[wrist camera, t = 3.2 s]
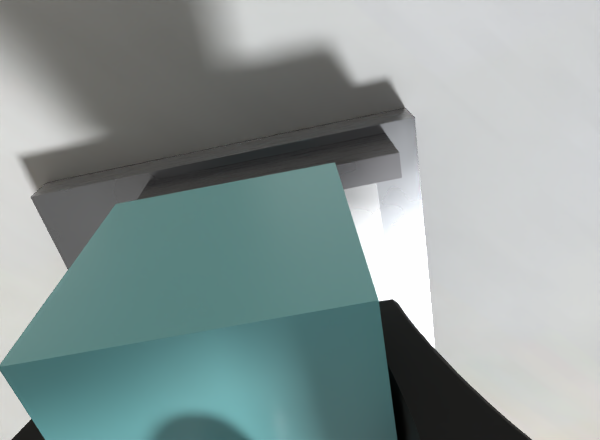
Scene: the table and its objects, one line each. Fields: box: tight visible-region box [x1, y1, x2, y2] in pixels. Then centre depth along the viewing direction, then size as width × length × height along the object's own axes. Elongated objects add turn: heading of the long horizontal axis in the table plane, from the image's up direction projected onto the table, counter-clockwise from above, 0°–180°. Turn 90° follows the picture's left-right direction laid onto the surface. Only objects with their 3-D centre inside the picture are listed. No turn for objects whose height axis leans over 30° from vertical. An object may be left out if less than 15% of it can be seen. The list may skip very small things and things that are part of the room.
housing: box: [0, 162, 397, 440], centre depth 9 cm, size 5×6×6 cm
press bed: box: [31, 108, 435, 348], centre depth 19 cm, size 13×17×4 cm
